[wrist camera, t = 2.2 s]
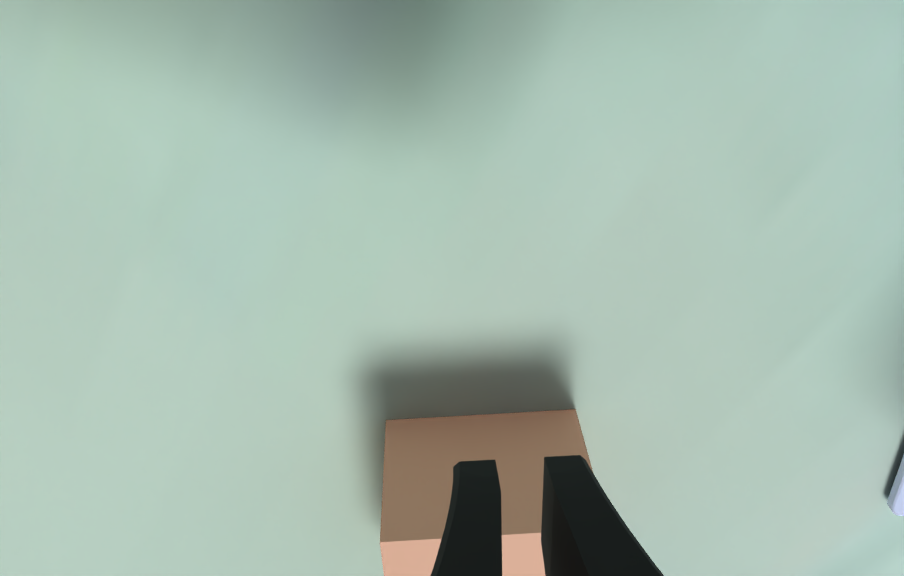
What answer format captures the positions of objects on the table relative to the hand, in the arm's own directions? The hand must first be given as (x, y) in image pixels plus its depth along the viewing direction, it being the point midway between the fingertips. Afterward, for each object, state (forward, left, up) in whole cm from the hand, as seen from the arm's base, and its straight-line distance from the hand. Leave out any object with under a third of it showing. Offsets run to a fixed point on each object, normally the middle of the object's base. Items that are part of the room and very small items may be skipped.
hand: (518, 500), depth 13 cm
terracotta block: (0, +9, -10) cm, 13 cm away
